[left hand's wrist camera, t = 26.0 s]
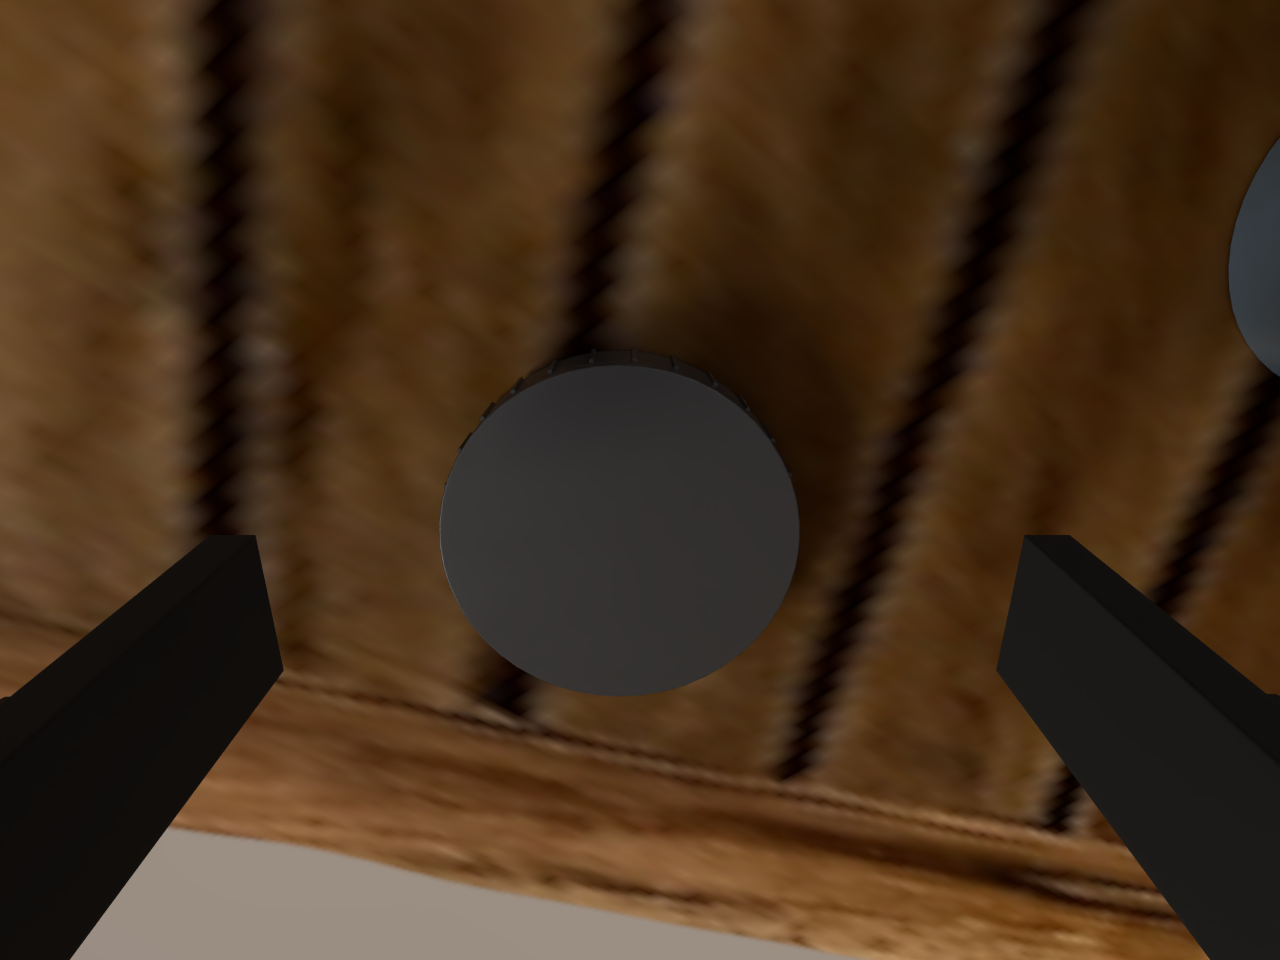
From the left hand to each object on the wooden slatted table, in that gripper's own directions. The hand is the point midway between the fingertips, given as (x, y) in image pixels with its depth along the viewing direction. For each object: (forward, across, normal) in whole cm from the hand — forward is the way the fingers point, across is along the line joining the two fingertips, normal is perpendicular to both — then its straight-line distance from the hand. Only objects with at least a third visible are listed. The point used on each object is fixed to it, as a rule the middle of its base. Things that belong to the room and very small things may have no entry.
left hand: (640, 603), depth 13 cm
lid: (+5, 0, -1) cm, 5 cm away
